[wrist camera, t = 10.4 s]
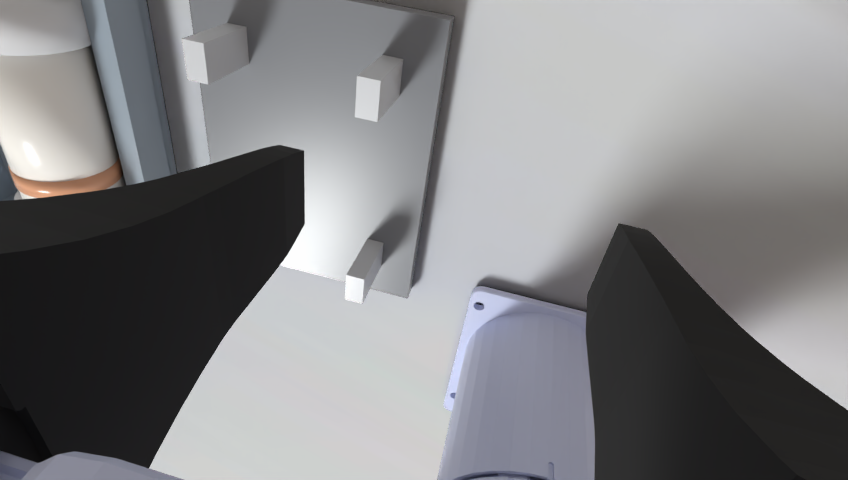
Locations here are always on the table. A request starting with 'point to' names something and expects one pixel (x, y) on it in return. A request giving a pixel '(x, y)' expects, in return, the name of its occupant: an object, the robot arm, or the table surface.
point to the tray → (125, 91)
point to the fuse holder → (331, 119)
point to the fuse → (53, 102)
